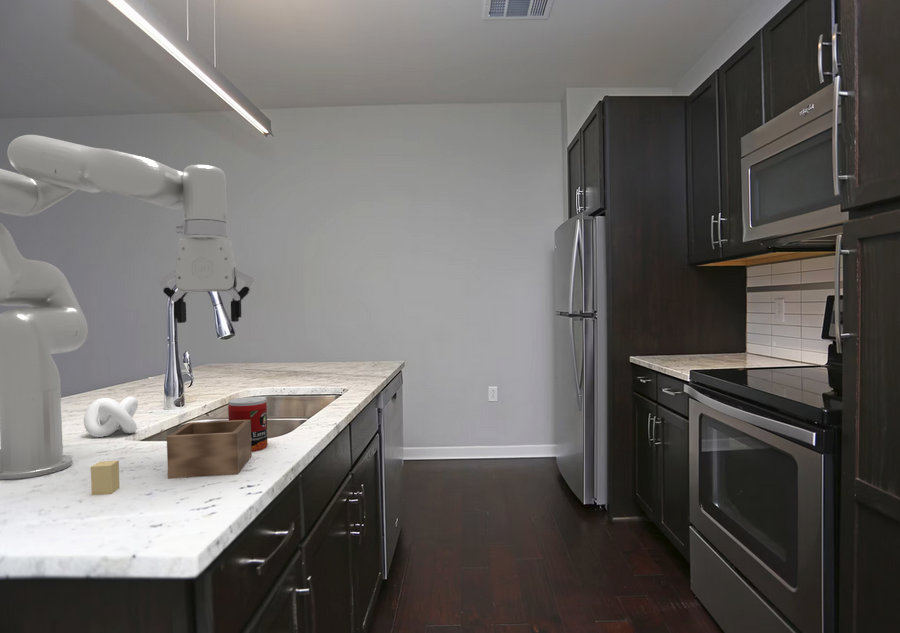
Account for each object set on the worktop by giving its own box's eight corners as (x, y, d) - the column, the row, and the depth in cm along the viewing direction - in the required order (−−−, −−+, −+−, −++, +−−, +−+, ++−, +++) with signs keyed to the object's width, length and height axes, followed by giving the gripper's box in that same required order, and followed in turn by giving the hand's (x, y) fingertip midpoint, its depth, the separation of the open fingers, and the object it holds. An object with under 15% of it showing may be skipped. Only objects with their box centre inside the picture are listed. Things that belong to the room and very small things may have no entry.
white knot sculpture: (110, 428, 141) (109, 394, 141) (154, 428, 140) (153, 394, 140) (77, 438, 130) (76, 402, 129) (124, 439, 129) (123, 401, 128)
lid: (43, 515, 83) (42, 477, 83) (84, 488, 95) (83, 455, 95) (130, 508, 85) (129, 472, 85) (159, 483, 97) (158, 451, 97)
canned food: (255, 455, 112) (254, 403, 112) (221, 454, 114) (220, 402, 113) (274, 446, 120) (273, 397, 119) (242, 444, 121) (241, 396, 121)
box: (167, 481, 96) (166, 436, 96) (189, 462, 108) (188, 422, 108) (238, 476, 98) (236, 433, 98) (251, 458, 110) (250, 419, 110)
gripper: (149, 229, 97) (152, 323, 97) (249, 229, 100) (251, 321, 100) (164, 234, 104) (167, 322, 105) (257, 235, 107) (259, 320, 108)
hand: (208, 322), depth 103 cm, fingers open, 9 cm apart
